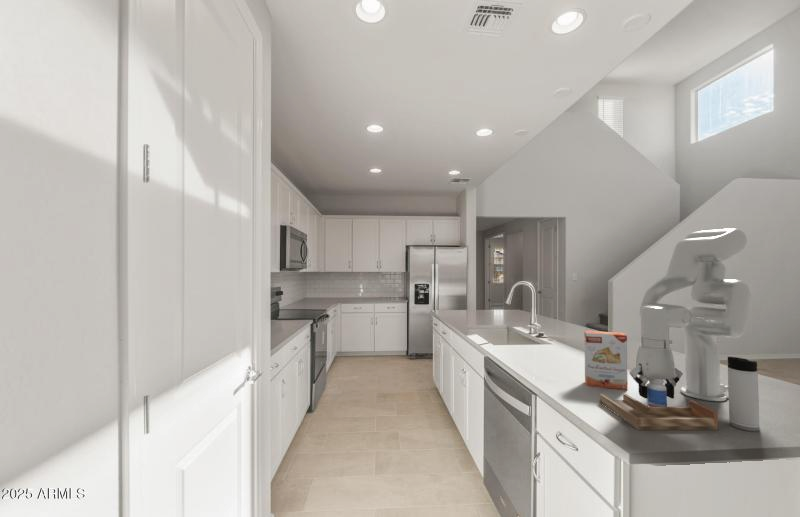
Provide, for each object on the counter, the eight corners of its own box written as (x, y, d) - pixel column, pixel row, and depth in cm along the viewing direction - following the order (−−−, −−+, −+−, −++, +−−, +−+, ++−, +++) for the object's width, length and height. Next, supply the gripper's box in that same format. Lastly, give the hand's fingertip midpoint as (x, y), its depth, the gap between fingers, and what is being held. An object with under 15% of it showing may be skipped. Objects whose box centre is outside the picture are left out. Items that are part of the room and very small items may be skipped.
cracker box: (586, 386, 137) (585, 332, 138) (584, 381, 143) (583, 329, 143) (628, 390, 132) (627, 334, 132) (625, 385, 138) (623, 332, 138)
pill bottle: (670, 411, 113) (669, 380, 113) (651, 410, 114) (651, 379, 114) (661, 404, 118) (660, 375, 119) (643, 403, 119) (643, 374, 120)
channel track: (666, 402, 120) (666, 388, 120) (718, 429, 100) (717, 412, 100) (599, 402, 121) (599, 388, 121) (637, 429, 101) (637, 412, 101)
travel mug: (722, 422, 105) (720, 354, 105) (742, 421, 105) (740, 354, 106) (744, 432, 99) (742, 360, 99) (766, 431, 99) (763, 359, 100)
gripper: (673, 341, 120) (674, 393, 120) (621, 341, 121) (622, 393, 120) (690, 346, 113) (692, 401, 112) (635, 346, 113) (637, 401, 113)
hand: (656, 396), depth 116 cm, fingers open, 7 cm apart
